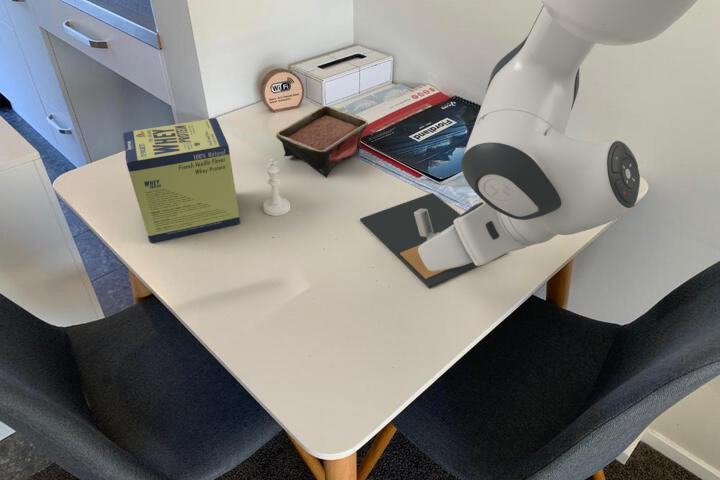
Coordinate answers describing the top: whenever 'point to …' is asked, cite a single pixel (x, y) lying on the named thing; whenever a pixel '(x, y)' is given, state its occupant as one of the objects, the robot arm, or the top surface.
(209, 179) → the protein box
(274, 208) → the chess piece
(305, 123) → the rectangular plant pot
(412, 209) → the mat
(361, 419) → the top surface
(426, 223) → the lighter
